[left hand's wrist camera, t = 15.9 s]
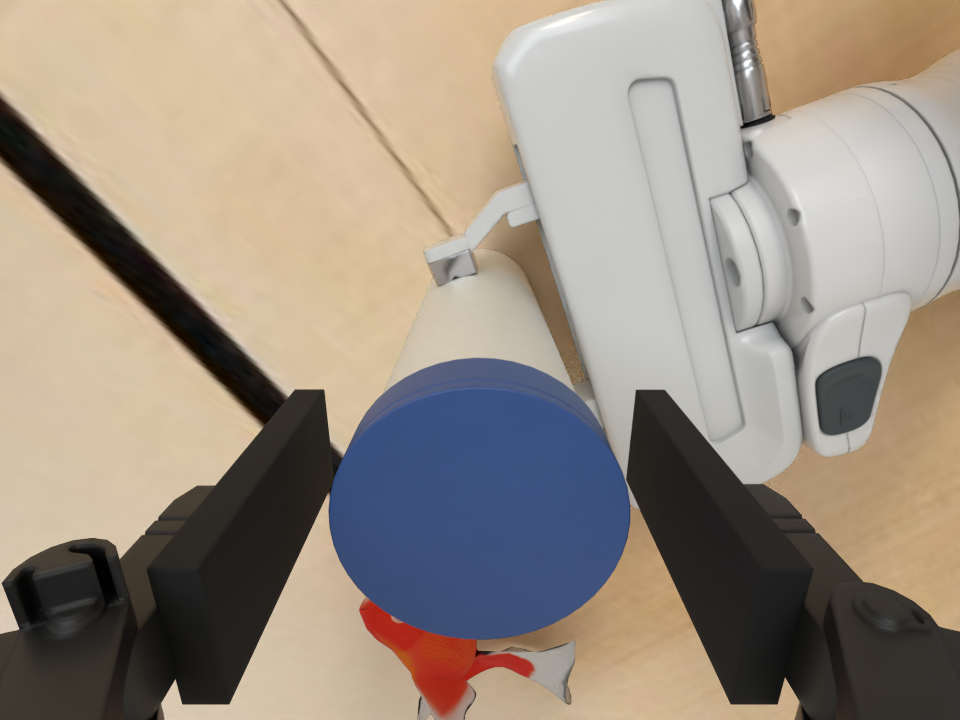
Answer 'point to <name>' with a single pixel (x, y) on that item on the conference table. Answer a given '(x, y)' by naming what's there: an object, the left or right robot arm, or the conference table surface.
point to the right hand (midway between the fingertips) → (460, 344)
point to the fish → (461, 664)
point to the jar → (481, 322)
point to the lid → (479, 501)
